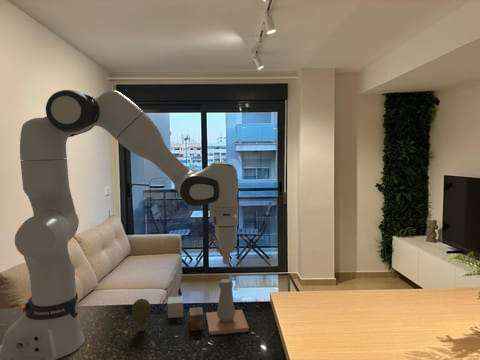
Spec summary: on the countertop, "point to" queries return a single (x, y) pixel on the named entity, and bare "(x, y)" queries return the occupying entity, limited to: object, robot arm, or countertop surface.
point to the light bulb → (141, 313)
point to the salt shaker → (225, 302)
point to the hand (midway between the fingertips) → (223, 258)
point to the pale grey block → (175, 307)
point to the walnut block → (196, 319)
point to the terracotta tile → (222, 328)
